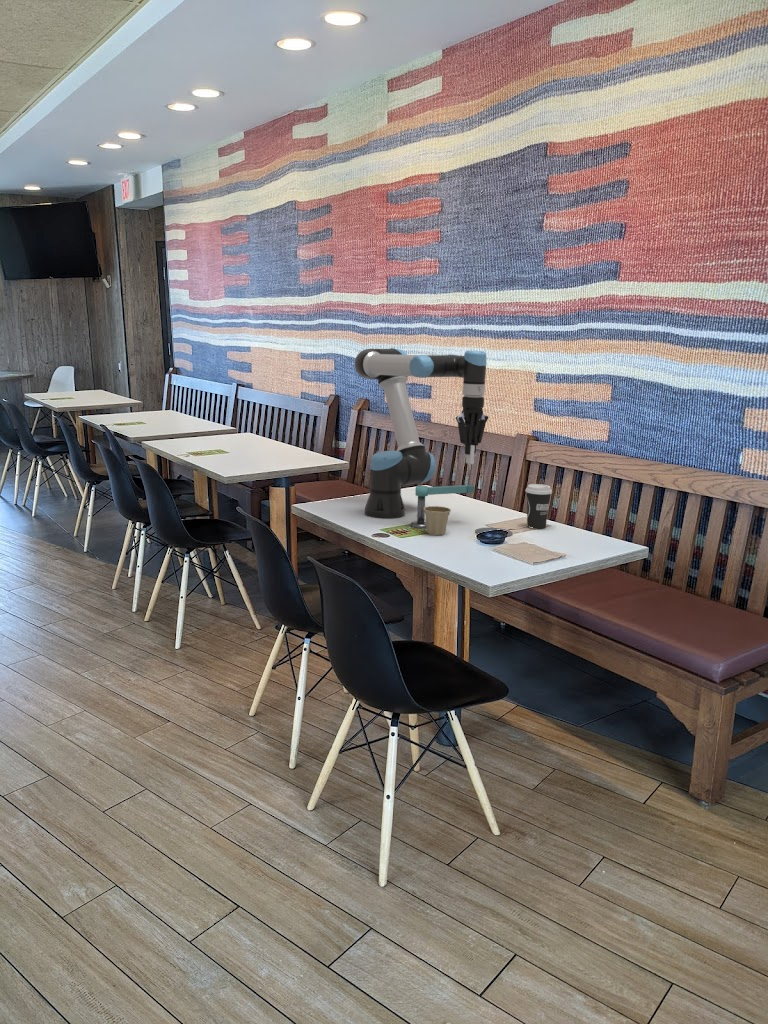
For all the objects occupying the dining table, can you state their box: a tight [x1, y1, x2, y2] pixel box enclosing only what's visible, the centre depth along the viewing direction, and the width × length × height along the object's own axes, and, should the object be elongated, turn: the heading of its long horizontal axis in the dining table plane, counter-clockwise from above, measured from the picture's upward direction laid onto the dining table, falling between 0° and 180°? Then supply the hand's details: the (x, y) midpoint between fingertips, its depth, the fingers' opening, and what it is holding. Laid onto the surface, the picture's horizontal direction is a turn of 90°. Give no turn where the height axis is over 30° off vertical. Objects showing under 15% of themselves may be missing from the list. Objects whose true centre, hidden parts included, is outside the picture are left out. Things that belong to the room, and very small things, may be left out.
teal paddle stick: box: [414, 484, 475, 497], centre depth 296 cm, size 22×4×3 cm, turn 112°
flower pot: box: [424, 505, 452, 536], centre depth 285 cm, size 9×9×9 cm
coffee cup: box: [525, 483, 553, 530], centre depth 297 cm, size 10×10×15 cm
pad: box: [474, 527, 513, 538], centre depth 288 cm, size 13×13×1 cm
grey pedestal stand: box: [410, 496, 427, 530], centre depth 294 cm, size 7×7×11 cm
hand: (469, 463), depth 292 cm, fingers closed
